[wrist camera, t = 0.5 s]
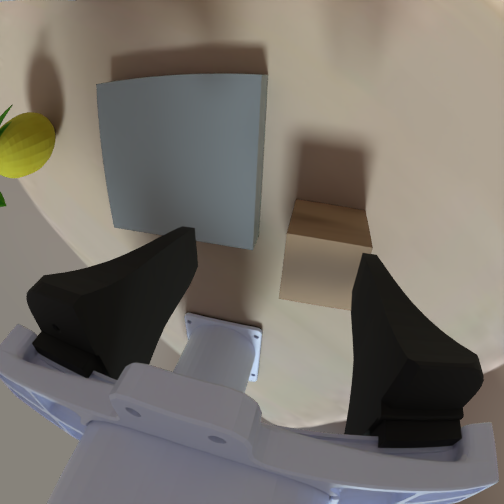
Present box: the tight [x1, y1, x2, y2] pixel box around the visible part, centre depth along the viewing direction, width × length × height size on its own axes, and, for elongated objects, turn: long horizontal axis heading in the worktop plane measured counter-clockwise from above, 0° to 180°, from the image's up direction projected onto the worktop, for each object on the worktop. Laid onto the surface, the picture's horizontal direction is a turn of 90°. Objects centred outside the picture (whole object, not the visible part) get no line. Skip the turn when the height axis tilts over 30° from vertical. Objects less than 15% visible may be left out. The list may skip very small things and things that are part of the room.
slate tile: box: [96, 73, 268, 250], centre depth 20 cm, size 12×12×2 cm
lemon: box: [0, 105, 55, 207], centre depth 18 cm, size 7×6×10 cm
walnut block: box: [279, 199, 373, 311], centre depth 20 cm, size 5×5×5 cm
